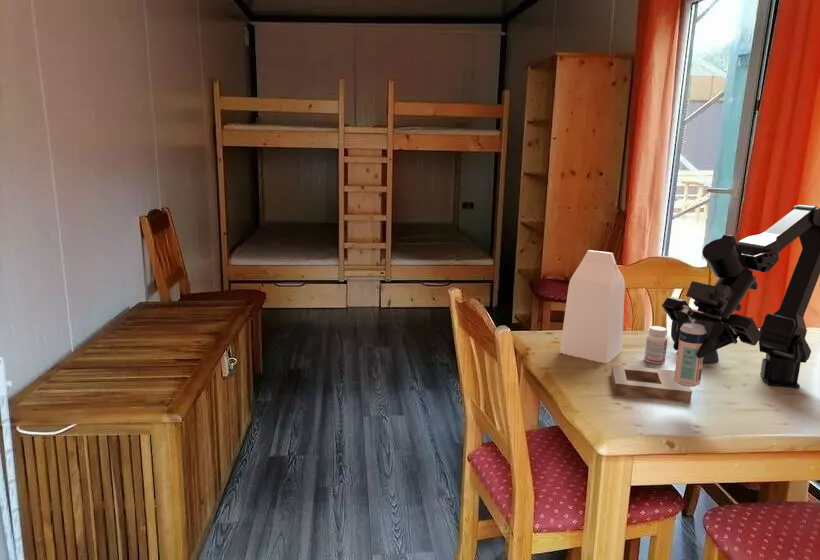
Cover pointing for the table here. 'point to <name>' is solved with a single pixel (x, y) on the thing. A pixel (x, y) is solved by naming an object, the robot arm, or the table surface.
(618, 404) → the table surface
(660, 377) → the socket board
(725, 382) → the table surface
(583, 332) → the milk
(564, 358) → the table surface
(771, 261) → the robot arm
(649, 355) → the pill bottle
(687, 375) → the beer can
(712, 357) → the mug
